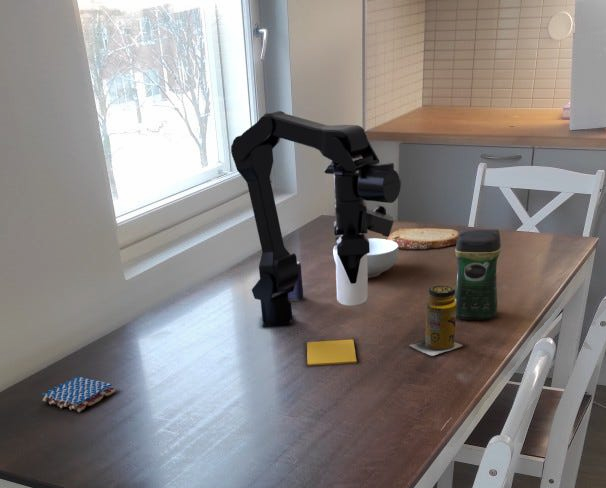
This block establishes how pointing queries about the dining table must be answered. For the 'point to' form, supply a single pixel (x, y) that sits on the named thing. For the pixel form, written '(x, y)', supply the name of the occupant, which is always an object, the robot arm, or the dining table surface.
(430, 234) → the slice of bread
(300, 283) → the flask
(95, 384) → the woven mat
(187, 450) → the dining table surface
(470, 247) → the coffee jar
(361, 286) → the can
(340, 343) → the cloth
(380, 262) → the cereal bowl
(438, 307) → the condiment
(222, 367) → the dining table surface
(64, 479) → the dining table surface
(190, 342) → the dining table surface
